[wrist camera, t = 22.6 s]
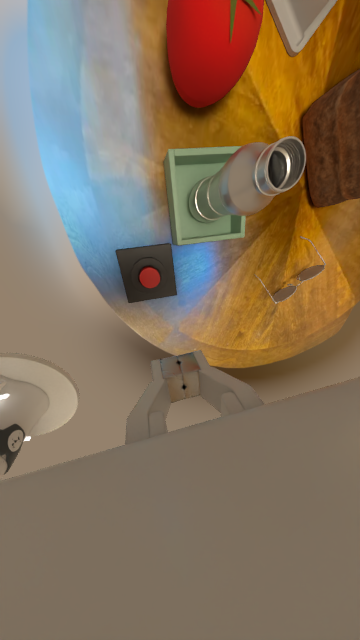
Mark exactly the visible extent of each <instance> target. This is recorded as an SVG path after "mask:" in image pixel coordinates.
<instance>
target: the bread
mask: <svg viewBox="0 0 360 640" xmlns="http://www.w3.org/2000/svg"><path fill="white" fill-rule="evenodd" d="M303 135H304V145H305V152H306V163H307V173H308V183H309V190H310V196H311V199H312V202H313V204H314V206H316V207H325V206H330V205H335V204H338V203H341V202H343V201H346V200H349V199H358V198H360V69H359V70H357V71H356V72H354V73H352V74H351V75H349V76H348V77H347V78H345V79H344V80H343V81H341V82H340V83H338V84H337V85H336V86H334V87H333V88H332V89H331V90H329V91H328V92H327V93H325V94H324V95H323V96H321V97H320V98H319V99H317V100H316V101H315V102H314V103H313V104H312V105H311V107H310V108H309V110H308V111H307V113H306V114H305V115H304V117H303Z"/></svg>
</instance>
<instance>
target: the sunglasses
mask: <svg viewBox="0 0 360 640" xmlns="http://www.w3.org/2000/svg"><path fill="white" fill-rule="evenodd" d="M300 238H303V239H306V238H304V237H301V236H300ZM306 240H309V239H306ZM309 241H310V240H309ZM310 242H311V241H310ZM311 244H312V245H313V243H312V242H311ZM313 246H314V245H313ZM314 248H315V247H314ZM315 249H316V248H315ZM316 251H317V250H316ZM317 253H318V251H317ZM318 254H319V253H318ZM319 256H320V254H319ZM320 257H321V256H320ZM321 259H322V257H321ZM322 261H323V262H324V260H323V259H322ZM325 265H326V264H325V262H324V265H317V266H312V267H309V268H307V269H306V270H304V271H303V272H301V273H300V274H299V276H297V280H300V281H302V282H303V281H306V280H309V279H312V278H314V277H315V276H317V275H318V274H320V273H321V272H322V271H323V270H324V268H325V267H324V266H325ZM256 277H257V276H256ZM260 281H261V280H260ZM302 282H301V283H302ZM261 283H262V281H261ZM301 283H300V284H301ZM262 284H263V283H262ZM300 284H298V285H300ZM288 285H293V284H288ZM298 285H297V286H298ZM263 286H264V284H263ZM297 286H289V287H286V288H283V289H281V290H279V291H278V292H276V293H275V294H274V295H273V297H272V296H271V295H270V294H269V295H270V296H271V298H272V300H273V301H274V303H278V302H281V301H284V300H286V299H288V298H289V297H290V296H291V295H293V294H294V293H295V291H296V287H297ZM264 287H265V286H264ZM266 290H267V289H266ZM267 292H268V291H267ZM268 293H269V292H268Z"/></svg>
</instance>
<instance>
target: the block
mask: <svg viewBox="0 0 360 640" xmlns="http://www.w3.org/2000/svg"><path fill="white" fill-rule="evenodd" d="M116 255H117V259H118V262H119V266H120V270H121V274H122V278H123V282H124V286H125V290H126V294H127V298H128V302H129V303H133V302H139V301H144V300H150V299H156V298H162V297H168V296H174V295H177V292H176V283H175V275H174V266H173V257H172V249H171V244H170V243H167V244H159V245H151V246H143V247H135V248H127V249H119V250H116ZM148 266H150V267H154V268H155V269H156V270H157V271H158V273H159V275H160V282H159V284H158V285H157V286H156V287H154V288H146V287H144V286H143V285H142V284H141V282H140V276H139V275H140V272H141V270H142V269H143V268H145V267H148Z"/></svg>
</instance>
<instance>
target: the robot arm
mask: <svg viewBox="0 0 360 640" xmlns="http://www.w3.org/2000/svg"><path fill="white" fill-rule="evenodd" d="M151 369H152V379H153V382H150V384H149V385H148V387H147V388H146V390H145V391H144V393H143V394H142V396H141V397H140V399H139V400H138V402H137V404H136V405H135V407H134V408H133V410H132V411H131V413H130V415H129V416H128V418H127V425H126V442H125V445H123V446H119V447H116V448H112V449H109V450H106V451H102V452H99V453H96V454H92V455H88V456H85V457H82V458H78V459H75V460H71V461H68V462H64V463H61V464H57V465H54V466H51V467H47V468H43V469H40V470H37V471H33V472H30V473H27V474H23V475H19V476H16V477H12V478H9V479H5V480H2V481H0V640H360V377H358V378H355V379H351V380H348V381H344V382H341V383H337V384H334V385H330V386H327V387H324V388H320V389H317V390H313V391H310V392H306V393H303V394H299V395H296V396H292V397H289V398H286V399H282V400H278V401H275V402H272V403H268V404H264V403H263V401H262V400H261V399H260V398H259V396H258V395H257V394H256V392H255V391H254V390H253V388H252V387H251V386H250V385H248V384H246V383H244V382H242V381H240V380H238V379H236V378H234V377H232V376H230V375H228V374H226V373H224V372H222V371H220V370H218V369H216V368H214V367H210V365H209V364H208V362H207V360H206V358H205V357H204V355H203V353H202V351H201V350H199V351H195V352H192V353H187V354H183V355H179V356H173V357H169V358H163V359H160V360H155V361H151ZM199 395H200V396H201V397H202V398H203V399H205V400H206V401H207V402H209V403H210V404H211V405H212V406H213V407H214V408H216V409H217V410H218V411H219V412H220V413H221V417H220V418H217V419H213V420H209V421H206V422H203V423H199V424H195V425H192V426H189V427H185V428H182V429H178V430H175V431H171V432H168V430H167V426H166V421H165V419H166V416H167V413H168V411H169V408H170V405H171V403H173V402H176V401H180V400H183V399H186V398H191V397H195V396H199ZM48 408H49V398H48V396H47V395H46V393H45V392H44V391H43V390H41V389H40V388H38V387H37V386H35V385H32V384H30V383H27V382H22V381H17V380H12V379H10V378H8V377H5V376H3V375H0V480H1V478H2V477H3V475H4V474H5V473H6V472H8V470H9V469H10V467H11V465H12V464H13V462H14V460H15V458H16V457H17V455H18V453H19V451H20V448H21V446H22V444H23V442H24V441H28V440H30V437H27V436H28V435H29V433H30V432H31V430H32V429H33V428H34V427H35V426H36V425H37V424H38V422H39V419H40V418H41V417H42V416H43V415H44V413H45V412H46V411H47V410H48Z"/></svg>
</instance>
